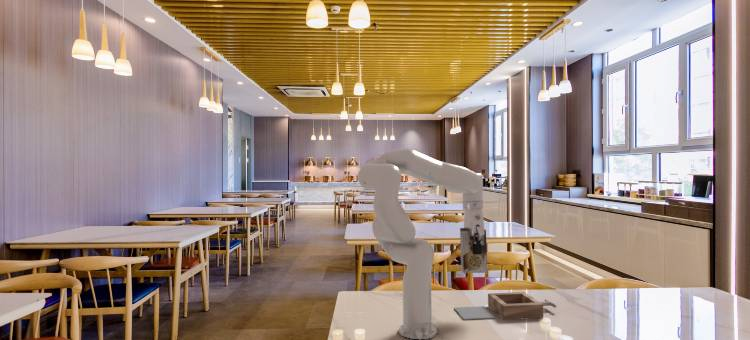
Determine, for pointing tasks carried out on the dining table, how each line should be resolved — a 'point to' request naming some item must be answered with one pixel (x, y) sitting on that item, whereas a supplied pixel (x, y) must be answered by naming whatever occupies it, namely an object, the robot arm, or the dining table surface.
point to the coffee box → (468, 259)
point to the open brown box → (517, 305)
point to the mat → (474, 313)
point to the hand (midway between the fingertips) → (473, 251)
